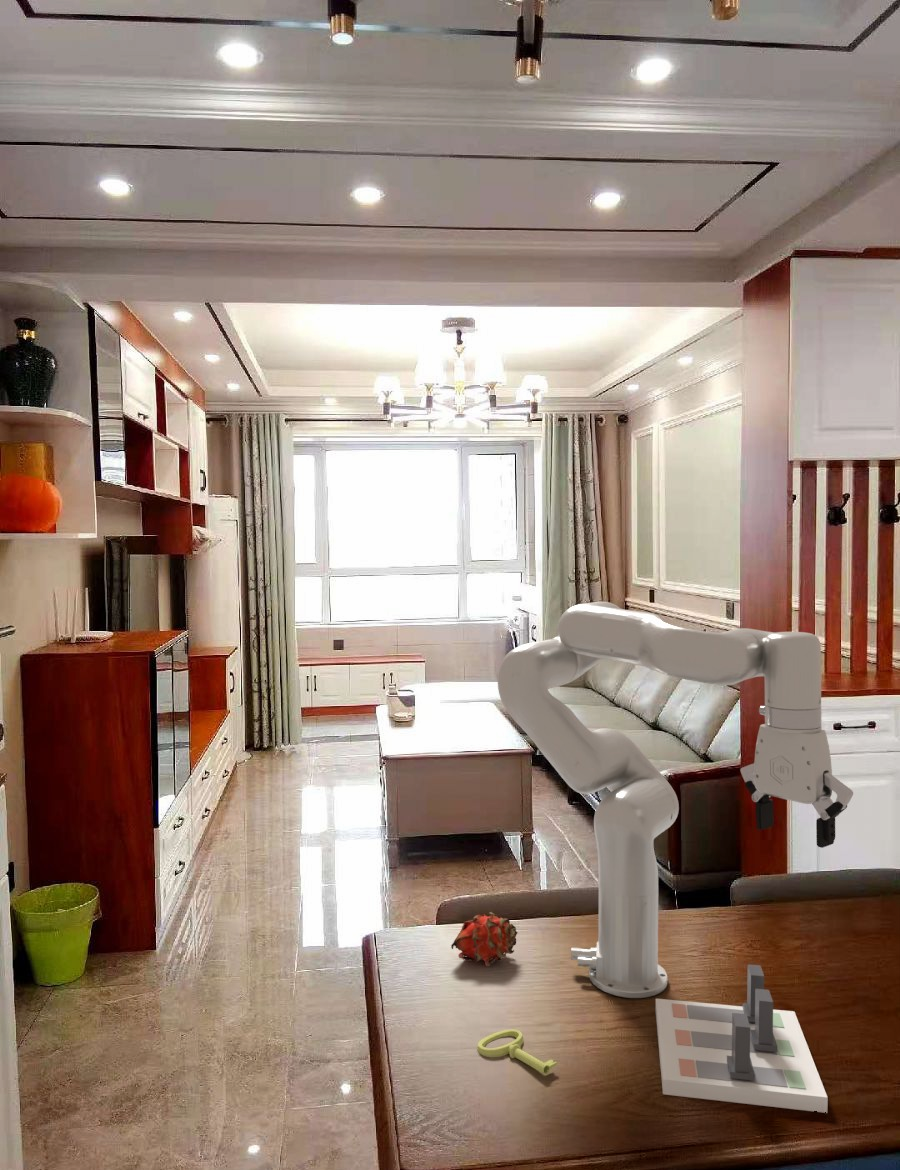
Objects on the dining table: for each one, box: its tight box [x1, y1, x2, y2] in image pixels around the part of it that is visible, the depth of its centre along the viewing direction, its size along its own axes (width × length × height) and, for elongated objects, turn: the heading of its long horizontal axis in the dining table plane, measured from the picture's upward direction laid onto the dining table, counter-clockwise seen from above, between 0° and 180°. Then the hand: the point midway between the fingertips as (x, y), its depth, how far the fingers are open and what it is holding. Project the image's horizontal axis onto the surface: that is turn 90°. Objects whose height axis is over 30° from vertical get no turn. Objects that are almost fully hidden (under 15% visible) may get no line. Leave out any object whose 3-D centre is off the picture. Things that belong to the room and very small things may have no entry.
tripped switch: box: [727, 1013, 755, 1081], centre depth 111 cm, size 3×4×7 cm
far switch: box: [742, 964, 765, 1022], centre depth 124 cm, size 3×4×7 cm
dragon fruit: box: [450, 911, 519, 967], centre depth 146 cm, size 8×8×12 cm
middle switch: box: [750, 988, 777, 1052], centre depth 117 cm, size 3×4×7 cm
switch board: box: [655, 998, 829, 1114], centre depth 118 cm, size 20×20×2 cm
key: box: [476, 1028, 558, 1075], centre depth 120 cm, size 7×12×2 cm, turn 55°
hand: (794, 836), depth 123 cm, fingers open, 9 cm apart
